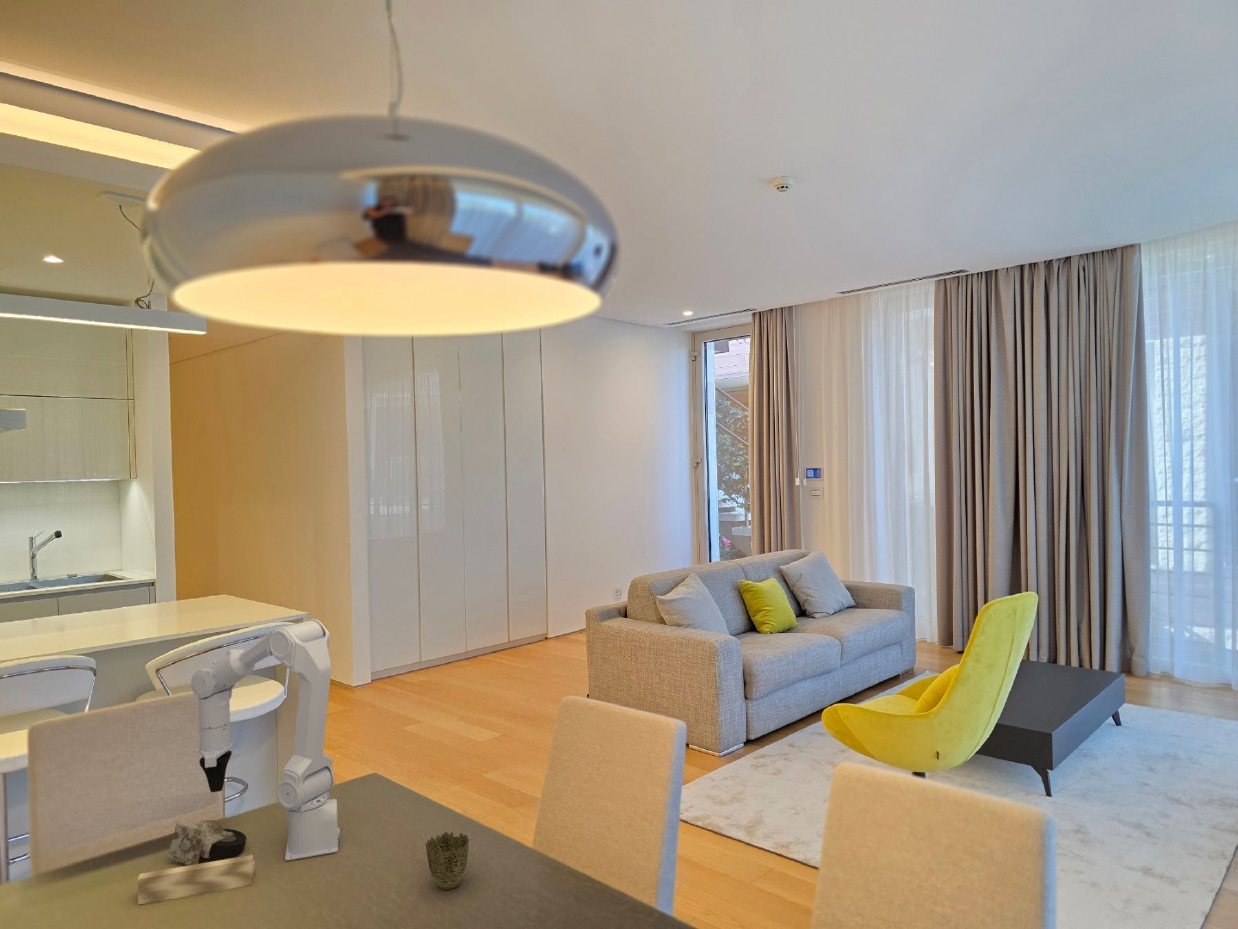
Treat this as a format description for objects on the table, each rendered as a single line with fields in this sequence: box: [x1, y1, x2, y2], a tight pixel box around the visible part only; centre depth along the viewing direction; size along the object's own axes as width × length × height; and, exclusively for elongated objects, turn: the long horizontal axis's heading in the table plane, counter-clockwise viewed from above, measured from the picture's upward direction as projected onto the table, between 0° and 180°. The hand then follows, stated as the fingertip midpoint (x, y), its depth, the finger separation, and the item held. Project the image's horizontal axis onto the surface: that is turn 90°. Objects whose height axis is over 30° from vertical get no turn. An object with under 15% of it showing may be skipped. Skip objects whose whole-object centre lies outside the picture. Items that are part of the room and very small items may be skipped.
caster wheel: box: [167, 819, 247, 866], centre depth 159 cm, size 7×11×10 cm
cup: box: [425, 831, 470, 891], centre depth 144 cm, size 8×7×8 cm
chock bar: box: [137, 854, 256, 906], centre depth 146 cm, size 18×5×4 cm, turn 109°
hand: (216, 790), depth 169 cm, fingers closed
